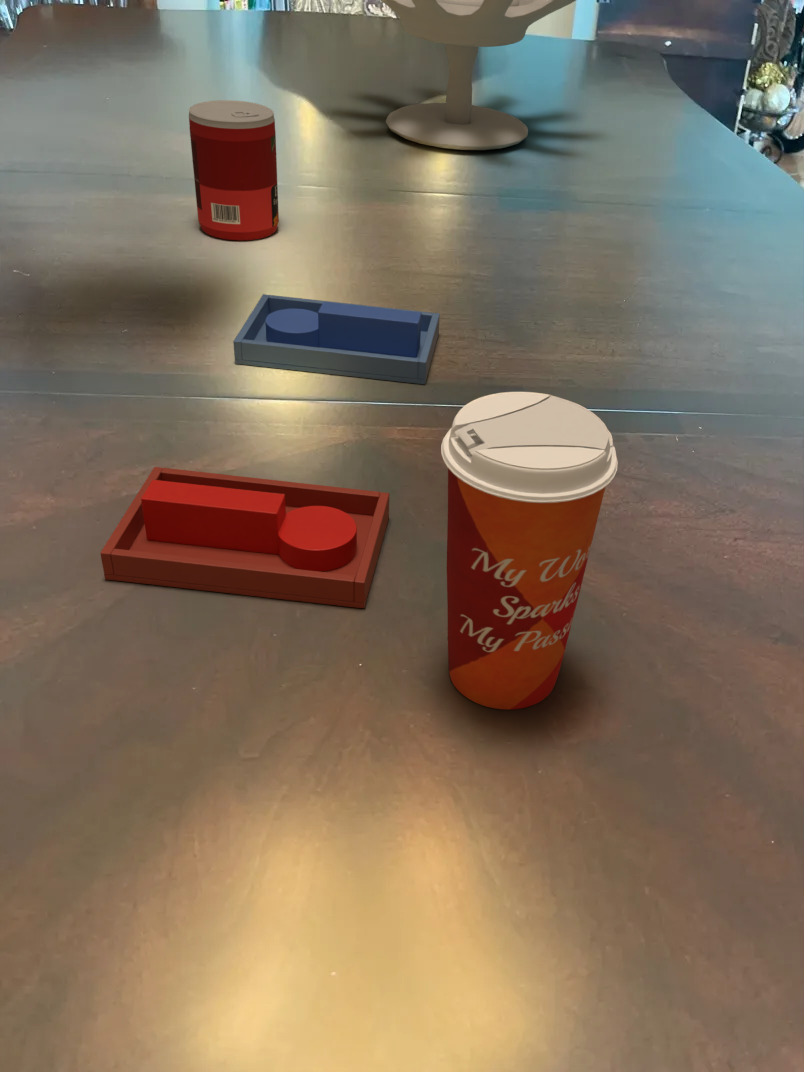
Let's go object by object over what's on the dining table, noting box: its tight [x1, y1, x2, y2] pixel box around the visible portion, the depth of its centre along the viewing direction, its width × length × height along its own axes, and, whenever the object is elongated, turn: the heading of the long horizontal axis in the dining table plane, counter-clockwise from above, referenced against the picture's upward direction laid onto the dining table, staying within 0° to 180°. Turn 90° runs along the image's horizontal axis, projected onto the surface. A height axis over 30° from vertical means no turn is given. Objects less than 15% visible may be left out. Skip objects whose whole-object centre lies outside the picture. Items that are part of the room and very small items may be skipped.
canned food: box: [188, 99, 280, 241], centre depth 103 cm, size 8×8×11 cm
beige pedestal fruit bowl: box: [380, 0, 577, 151], centre depth 130 cm, size 34×35×27 cm
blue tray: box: [232, 293, 441, 385], centre depth 86 cm, size 15×10×2 cm, turn 85°
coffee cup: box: [440, 391, 619, 710], centre depth 53 cm, size 8×8×15 cm
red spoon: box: [141, 480, 357, 572], centre depth 63 cm, size 13×5×3 cm, turn 85°
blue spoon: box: [265, 301, 422, 358], centre depth 86 cm, size 13×5×3 cm, turn 85°
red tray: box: [99, 466, 391, 609], centre depth 64 cm, size 15×10×2 cm, turn 85°
